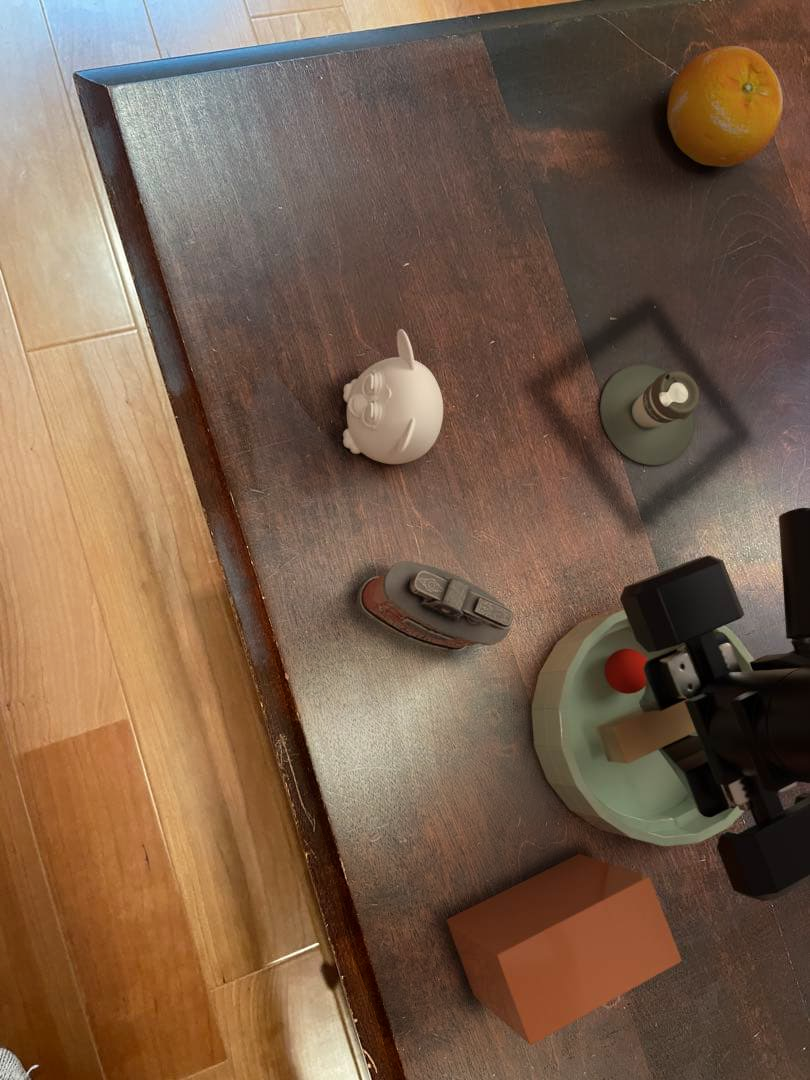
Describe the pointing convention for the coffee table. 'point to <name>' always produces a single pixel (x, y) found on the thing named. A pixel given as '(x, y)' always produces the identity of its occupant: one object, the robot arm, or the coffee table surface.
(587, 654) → the bowl
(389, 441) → the figurine
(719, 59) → the fruit
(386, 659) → the coffee table surface
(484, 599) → the lighter
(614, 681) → the tomato ball
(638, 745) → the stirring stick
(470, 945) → the rectangular block
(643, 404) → the coffee cup
